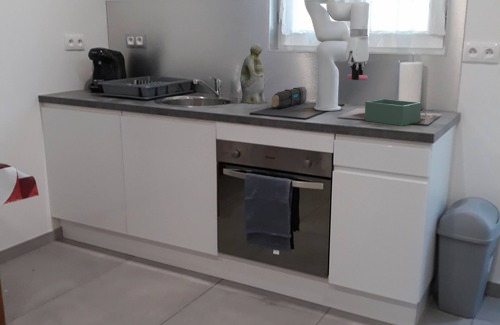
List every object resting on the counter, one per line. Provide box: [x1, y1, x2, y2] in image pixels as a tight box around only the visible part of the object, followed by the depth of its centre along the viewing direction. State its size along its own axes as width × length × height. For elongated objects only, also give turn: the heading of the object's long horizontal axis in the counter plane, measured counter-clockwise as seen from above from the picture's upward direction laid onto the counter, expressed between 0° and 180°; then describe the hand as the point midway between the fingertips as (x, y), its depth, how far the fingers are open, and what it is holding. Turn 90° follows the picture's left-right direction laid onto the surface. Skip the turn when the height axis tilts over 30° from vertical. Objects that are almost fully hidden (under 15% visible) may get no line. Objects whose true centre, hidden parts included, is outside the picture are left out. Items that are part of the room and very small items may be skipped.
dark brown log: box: [271, 86, 308, 109], centre depth 258 cm, size 11×7×30 cm
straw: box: [346, 73, 369, 81], centre depth 217 cm, size 10×2×2 cm, turn 43°
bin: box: [364, 98, 422, 127], centre depth 215 cm, size 18×14×8 cm
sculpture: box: [239, 42, 266, 105], centre depth 271 cm, size 11×14×30 cm
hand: (357, 79), depth 218 cm, fingers closed on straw, 2 cm apart
